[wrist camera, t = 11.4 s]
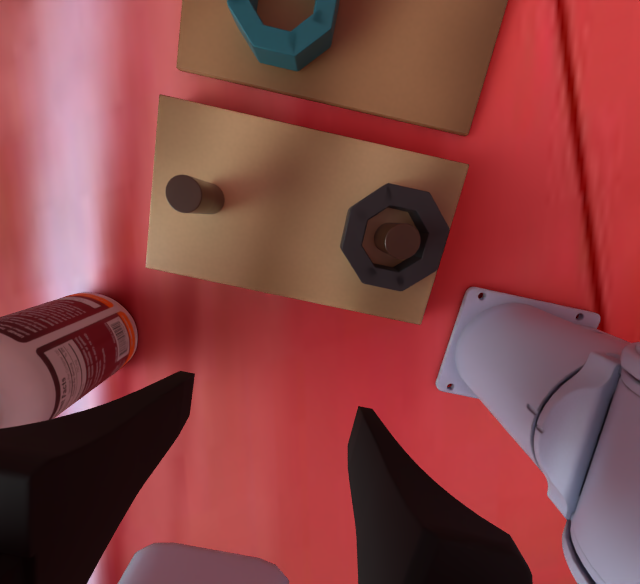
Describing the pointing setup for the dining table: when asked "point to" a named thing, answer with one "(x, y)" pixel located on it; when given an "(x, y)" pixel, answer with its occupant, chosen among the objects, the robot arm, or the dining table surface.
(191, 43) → the cork mat
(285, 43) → the teal ring
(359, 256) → the charcoal ring
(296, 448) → the dining table surface
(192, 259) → the peg board
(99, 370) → the pill bottle
